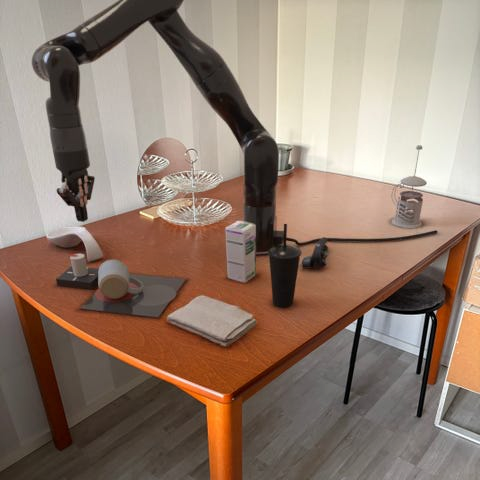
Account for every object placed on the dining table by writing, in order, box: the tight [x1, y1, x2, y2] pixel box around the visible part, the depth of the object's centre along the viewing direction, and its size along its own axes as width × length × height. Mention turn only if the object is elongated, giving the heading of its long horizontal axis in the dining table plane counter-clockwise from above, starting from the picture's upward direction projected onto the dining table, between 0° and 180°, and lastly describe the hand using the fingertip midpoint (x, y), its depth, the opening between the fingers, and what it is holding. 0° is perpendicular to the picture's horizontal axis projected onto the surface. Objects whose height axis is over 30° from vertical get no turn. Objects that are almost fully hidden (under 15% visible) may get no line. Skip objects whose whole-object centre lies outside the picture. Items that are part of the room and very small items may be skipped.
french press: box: [391, 144, 428, 229], centre depth 158 cm, size 10×12×25 cm
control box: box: [55, 265, 99, 290], centre depth 130 cm, size 10×8×2 cm
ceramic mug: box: [97, 259, 143, 299], centre depth 122 cm, size 11×8×8 cm
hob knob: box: [69, 253, 88, 277], centre depth 128 cm, size 4×4×5 cm
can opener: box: [301, 236, 329, 269], centre depth 139 cm, size 18×7×6 cm, turn 160°
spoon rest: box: [45, 225, 104, 263], centre depth 147 cm, size 24×12×7 cm, turn 43°
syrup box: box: [224, 220, 257, 284], centre depth 128 cm, size 6×6×14 cm
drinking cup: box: [267, 223, 302, 309], centre depth 114 cm, size 8×8×20 cm
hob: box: [79, 273, 187, 319], centre depth 124 cm, size 21×20×1 cm
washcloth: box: [166, 295, 258, 348], centre depth 110 cm, size 12×18×3 cm, turn 54°
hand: (82, 220), depth 120 cm, fingers closed
